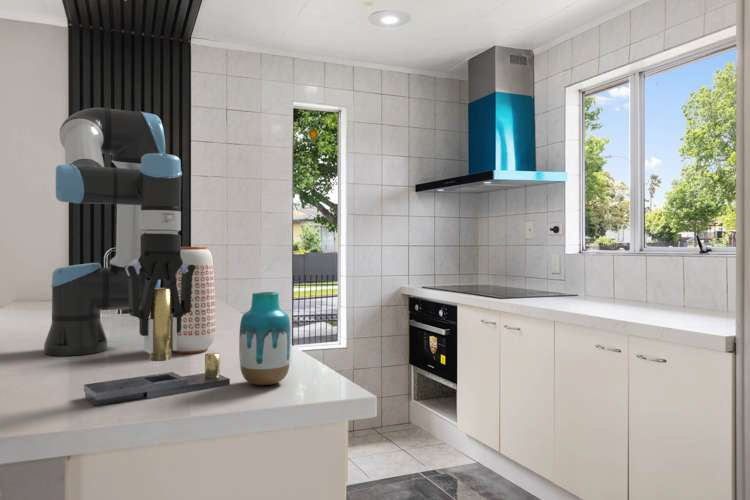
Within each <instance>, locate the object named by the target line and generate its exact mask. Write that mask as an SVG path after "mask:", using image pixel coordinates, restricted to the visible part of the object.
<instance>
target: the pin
mask: <svg viewBox="0 0 750 500" xmlns="http://www.w3.org/2000/svg"><path fill="white" fill-rule="evenodd" d="M149 318H150V319H153V353H149V361H152V362H165V361H170V360H172V350H171V289H170V288H166V287H160V288H155V291H154V296H153V301H152V305H151V310H150V315H149Z"/></svg>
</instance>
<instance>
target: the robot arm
mask: <svg viewBox="0 0 750 500" xmlns="http://www.w3.org/2000/svg"><path fill="white" fill-rule="evenodd" d="M59 141H60V144H61V146H62V147H63V149H64V155H65V157H64V159H65V160H64V161H65V164H59V165H57V166H56V167H55V198H56V200H57V201H58V202H62V203H72V204H94V205H95V204H96V205H97V204H100V205H101V204H102V205H116V236H115V237H116V242H115V256H114V257H112V258H111V259H110V260H109V267H102V265H101V263H100V262H90V263H83V264H80V263H79V264H73V265H67V266H60V267H58V268H56V269H54V271H53V272H52V275H51V278H52V279H51V285H50V287H51V290H52V291H51V325H50V328H49V331H48V333H47V336H46V338H45V342H44V345H43V353H44V354H45V355H47V356H49V355H50V356H59V357H60V356H81V355H82V356H84V355H89V354H96V353H101V352H104V351H106V350H108V339H107V336H106V333H105V330H104V327H103V324H102V322H101V321H102V320H101V312H102V311H118V310H119V311H121V310H128V314H129V315H130V316H131V317H135V318H138V319H139V320H138V321H139V329H138V330H139V335H140V336H142V337H143V338H144V339H143V344H144V345H143V346H144V348H143V351H144V352H145V353H148V354H150V353H153V319H150V310H151V305H152V301H153V296H154V291H155V288H161V283H162V282H161V281H162V280H163V283H164V284H165V288H170V289H171V313H172V316H171V351H173V350H177V333H179V332H180V331H181V317H182V316H183V314H186V313H189V312H190V310H191V288H192V275H193V272H194V270H195V266H194V265H191V264H187V263H184V262H183V260H182V258H181V255H180V253H181V247H182V246H181V245H182V235H180V234H179V233H178V232H180V231H181V230H182V224H181V223H182V212H181V211H182V209H181V208H182V207H181V206H182V203H181V201H182V200H181V199H182V198H181V197H182V196H181V195H182V192H181V191H182V175H183V172H182V167H181V164H182V163H181V159H180V157H178V156H176V155H174V154H169V153H166V139H165V131H164V126H163V123H162V120H161V118H160V117H159V116H158V115H156V114H153V113H149V112H144V111H133V110H124V109H123V110H122V109H115V108H114V109H113V108H105V107H90V108H85V109H82V110H78V111H77V112H75V113H73V114H71V115H70V116H68V117H67V118H66V119H65V120H64V122H63V123H62V124H61V126H60V128H59ZM103 154H104V155H111V163H113V164H114V165H115V166H116V167H108V166H105V162H104V157H103ZM180 267H181V272H182V277H181V300H180V301H179V296H178V291H177V286H176V283H177V281H176V276H175V274H176V273H177V271H178V270H179V268H180Z"/></svg>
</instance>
